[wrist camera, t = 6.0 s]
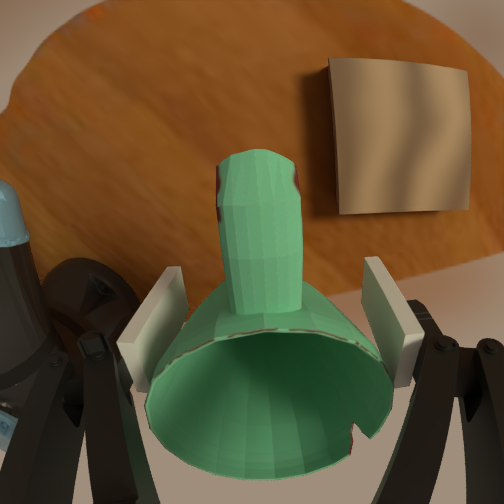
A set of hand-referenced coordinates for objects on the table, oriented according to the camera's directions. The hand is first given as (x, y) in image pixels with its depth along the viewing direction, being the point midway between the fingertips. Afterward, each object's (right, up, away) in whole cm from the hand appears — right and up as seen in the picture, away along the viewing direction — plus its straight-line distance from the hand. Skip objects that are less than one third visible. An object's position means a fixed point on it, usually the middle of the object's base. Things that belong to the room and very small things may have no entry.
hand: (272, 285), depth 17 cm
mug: (-1, +1, +3) cm, 3 cm away
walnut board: (+13, +13, +11) cm, 21 cm away
